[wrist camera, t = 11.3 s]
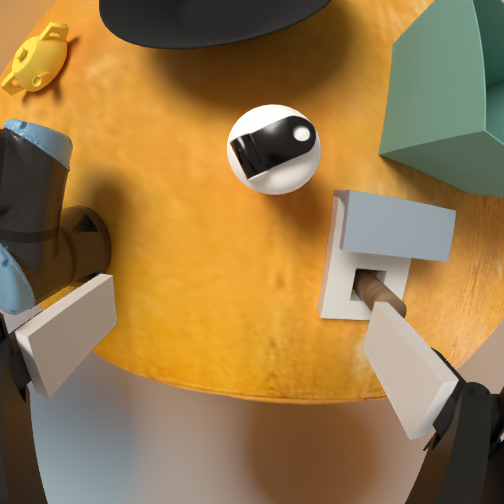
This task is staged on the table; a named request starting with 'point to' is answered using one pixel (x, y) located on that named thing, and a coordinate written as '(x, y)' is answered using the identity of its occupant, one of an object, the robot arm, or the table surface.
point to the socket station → (378, 246)
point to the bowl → (201, 20)
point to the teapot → (38, 60)
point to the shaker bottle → (273, 149)
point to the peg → (375, 291)
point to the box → (450, 96)
